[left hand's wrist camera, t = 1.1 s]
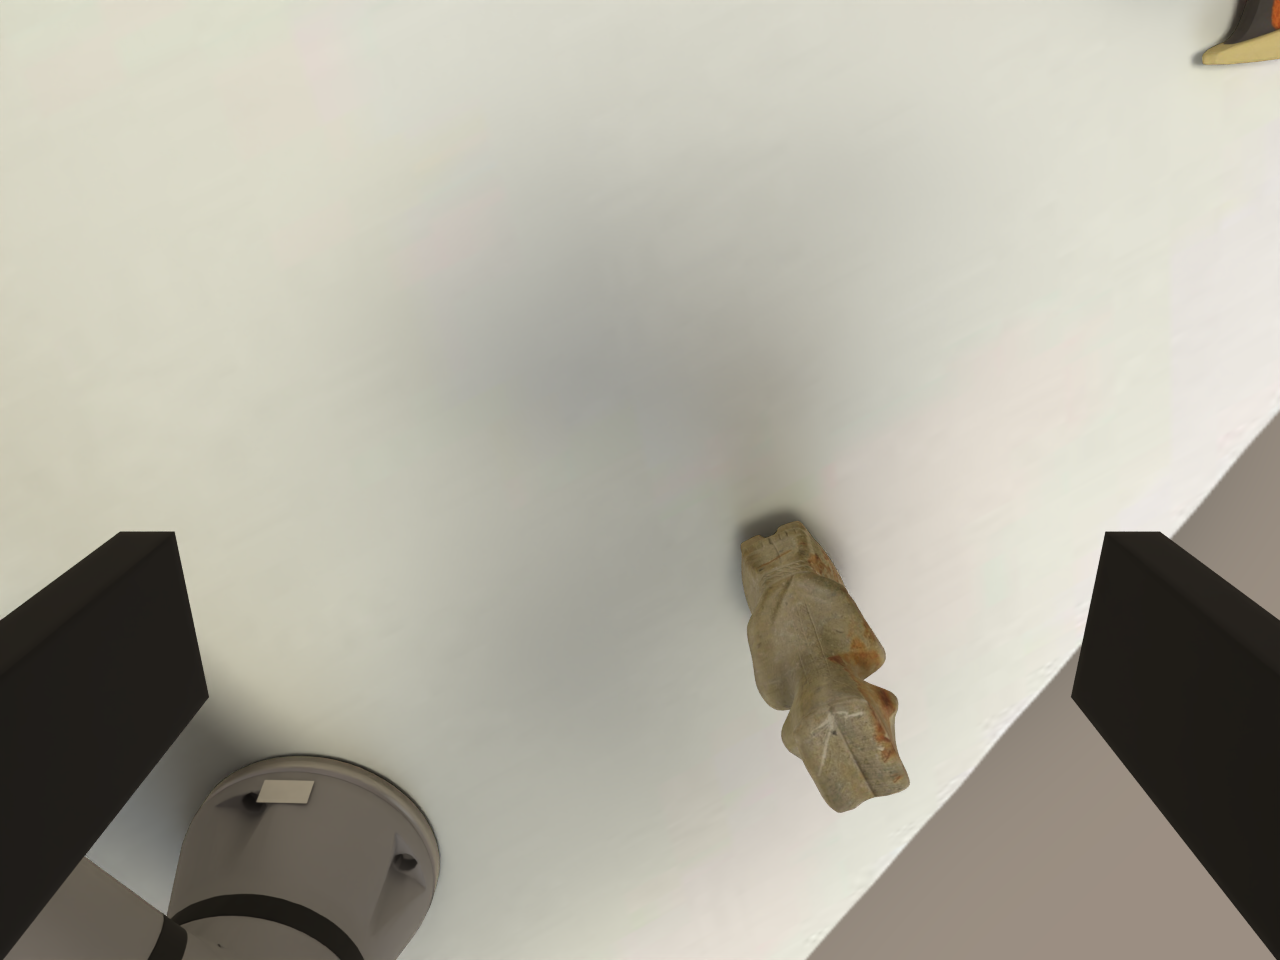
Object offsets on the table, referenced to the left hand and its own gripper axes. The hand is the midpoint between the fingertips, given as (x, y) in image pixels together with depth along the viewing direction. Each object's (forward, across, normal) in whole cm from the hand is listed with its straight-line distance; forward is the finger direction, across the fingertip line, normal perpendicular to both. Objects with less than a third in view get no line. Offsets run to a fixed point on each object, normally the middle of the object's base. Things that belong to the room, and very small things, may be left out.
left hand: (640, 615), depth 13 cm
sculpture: (+31, -8, +15) cm, 36 cm away
